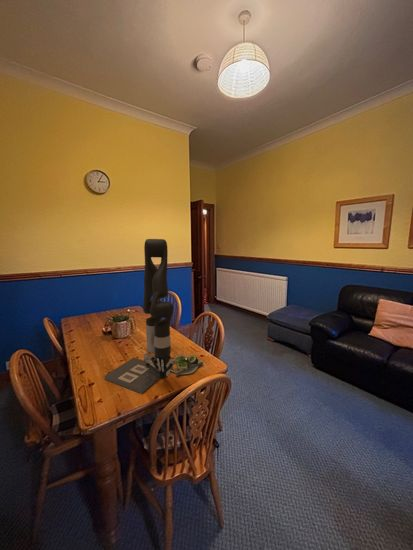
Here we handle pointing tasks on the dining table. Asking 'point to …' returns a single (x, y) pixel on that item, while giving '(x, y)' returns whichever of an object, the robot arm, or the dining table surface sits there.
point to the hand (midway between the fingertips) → (163, 377)
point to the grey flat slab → (134, 375)
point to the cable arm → (148, 359)
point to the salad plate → (185, 364)
